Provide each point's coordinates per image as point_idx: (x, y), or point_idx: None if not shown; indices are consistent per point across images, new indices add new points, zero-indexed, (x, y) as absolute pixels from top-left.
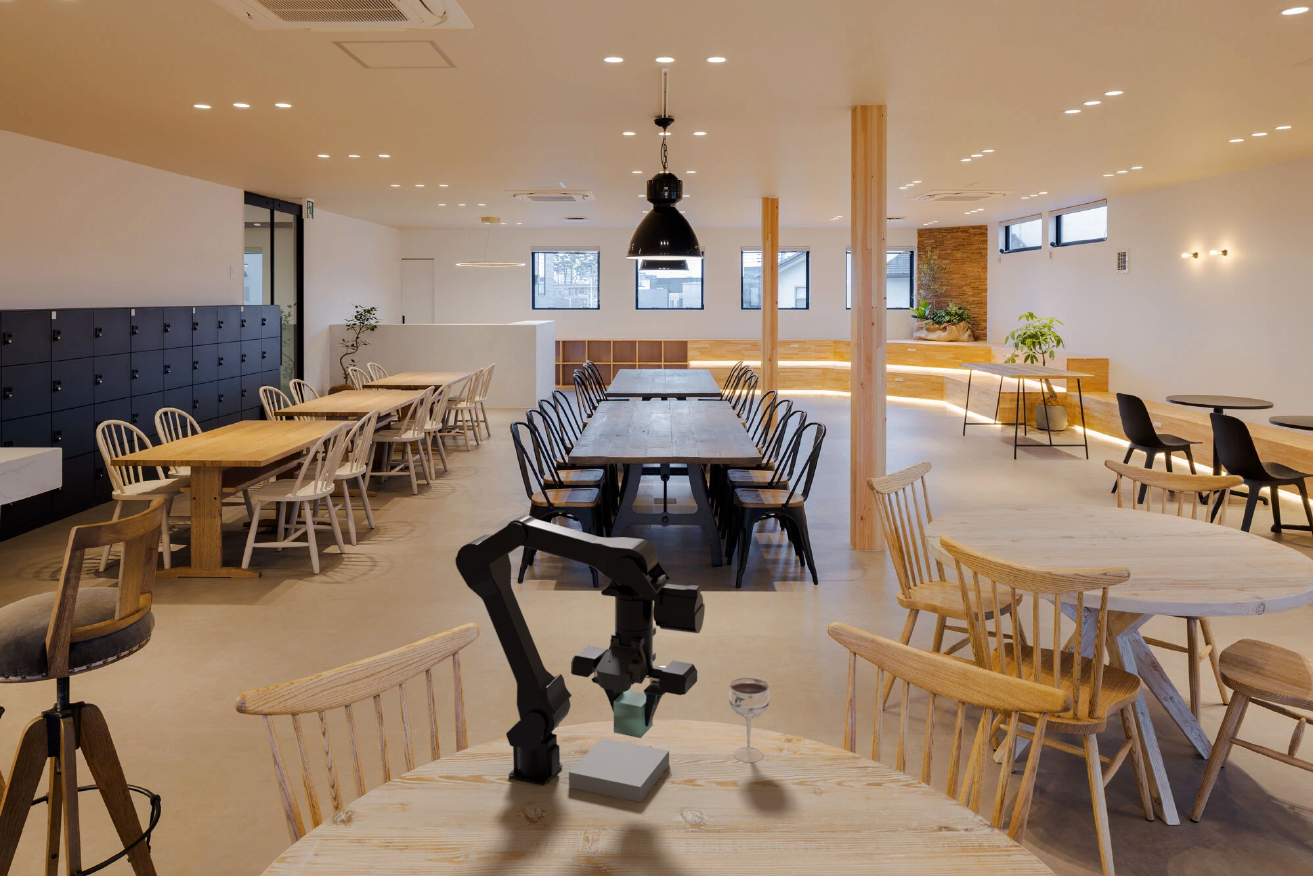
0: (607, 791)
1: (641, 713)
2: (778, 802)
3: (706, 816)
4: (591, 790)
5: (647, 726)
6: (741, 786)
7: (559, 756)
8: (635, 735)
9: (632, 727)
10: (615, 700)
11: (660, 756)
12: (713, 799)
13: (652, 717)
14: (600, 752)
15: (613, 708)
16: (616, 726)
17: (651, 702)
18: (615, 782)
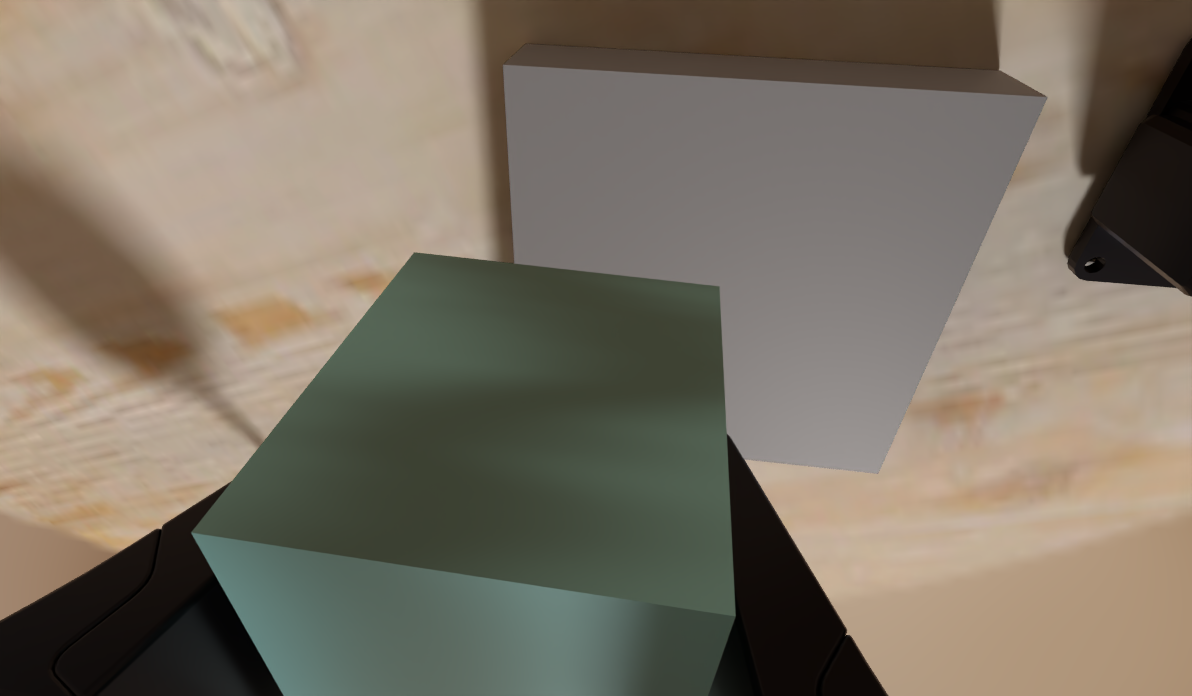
0: (736, 62)
1: (268, 447)
2: (15, 244)
3: (161, 28)
4: (843, 63)
5: None
6: (205, 314)
7: (1136, 250)
8: (467, 269)
9: (477, 317)
10: (712, 637)
11: None
12: (232, 191)
13: None
14: (858, 357)
15: (766, 535)
16: (685, 326)
17: (37, 626)
18: (680, 74)
